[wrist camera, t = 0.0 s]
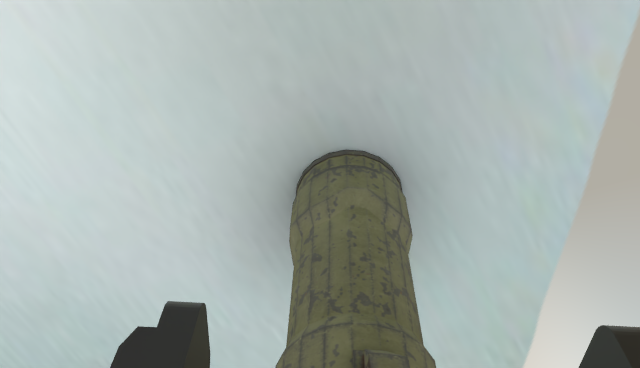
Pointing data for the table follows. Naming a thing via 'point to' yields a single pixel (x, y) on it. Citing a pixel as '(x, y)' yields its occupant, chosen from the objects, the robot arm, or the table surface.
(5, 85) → the table surface
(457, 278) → the table surface
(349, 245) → the thermos
